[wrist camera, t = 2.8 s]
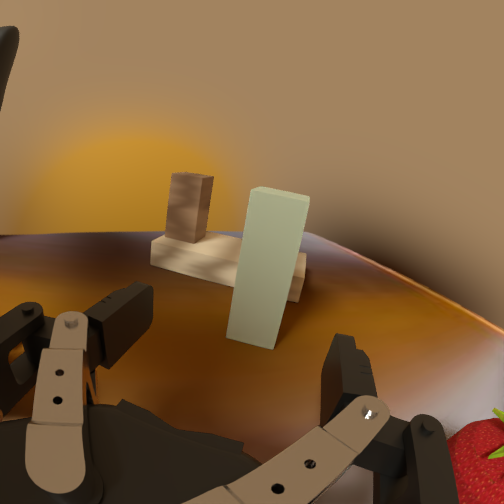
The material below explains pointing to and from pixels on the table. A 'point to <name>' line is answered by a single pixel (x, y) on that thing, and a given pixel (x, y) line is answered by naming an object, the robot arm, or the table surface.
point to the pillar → (266, 265)
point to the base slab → (203, 238)
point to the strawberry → (479, 461)
